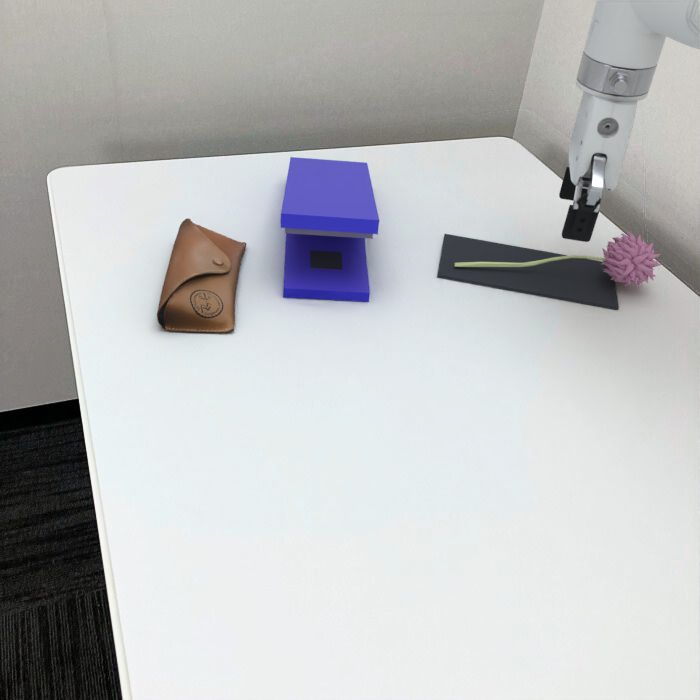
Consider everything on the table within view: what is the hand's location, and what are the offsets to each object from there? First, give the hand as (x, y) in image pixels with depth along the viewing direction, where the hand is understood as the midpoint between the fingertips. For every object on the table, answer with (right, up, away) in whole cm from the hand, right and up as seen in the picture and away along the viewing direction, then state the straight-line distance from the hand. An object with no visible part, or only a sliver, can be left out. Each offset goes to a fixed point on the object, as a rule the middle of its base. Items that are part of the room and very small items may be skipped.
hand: (573, 218), depth 92 cm
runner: (-4, -6, +6) cm, 9 cm away
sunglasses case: (-43, -8, -3) cm, 44 cm away
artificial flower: (-1, -7, +5) cm, 8 cm away
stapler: (-30, -1, +8) cm, 31 cm away
